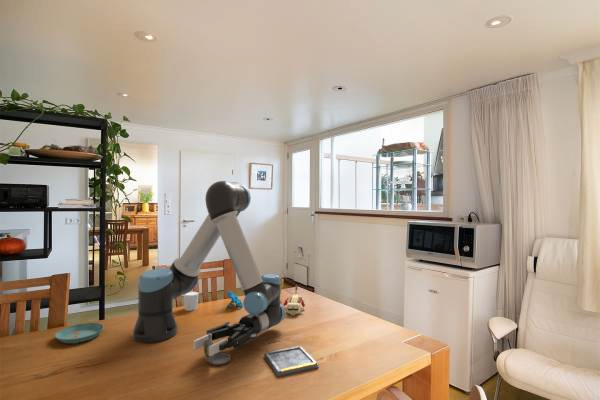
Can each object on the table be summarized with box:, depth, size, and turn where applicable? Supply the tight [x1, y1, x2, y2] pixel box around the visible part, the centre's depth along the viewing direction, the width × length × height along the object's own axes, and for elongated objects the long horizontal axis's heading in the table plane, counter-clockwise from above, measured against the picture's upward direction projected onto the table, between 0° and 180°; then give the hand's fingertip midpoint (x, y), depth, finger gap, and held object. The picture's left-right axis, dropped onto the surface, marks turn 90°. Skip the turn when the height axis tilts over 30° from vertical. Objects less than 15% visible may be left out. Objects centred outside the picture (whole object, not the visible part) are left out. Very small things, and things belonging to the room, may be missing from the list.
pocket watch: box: [203, 331, 232, 366], centre depth 101 cm, size 8×8×10 cm
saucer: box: [54, 322, 105, 344], centre depth 118 cm, size 15×15×3 cm
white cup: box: [182, 291, 200, 312], centre depth 150 cm, size 7×7×7 cm
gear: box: [226, 290, 244, 308], centre depth 153 cm, size 11×6×10 cm
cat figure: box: [282, 285, 306, 316], centre depth 154 cm, size 10×9×25 cm
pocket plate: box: [263, 345, 319, 378], centre depth 102 cm, size 13×13×1 cm
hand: (202, 348), depth 97 cm, fingers closed on pocket watch, 6 cm apart
